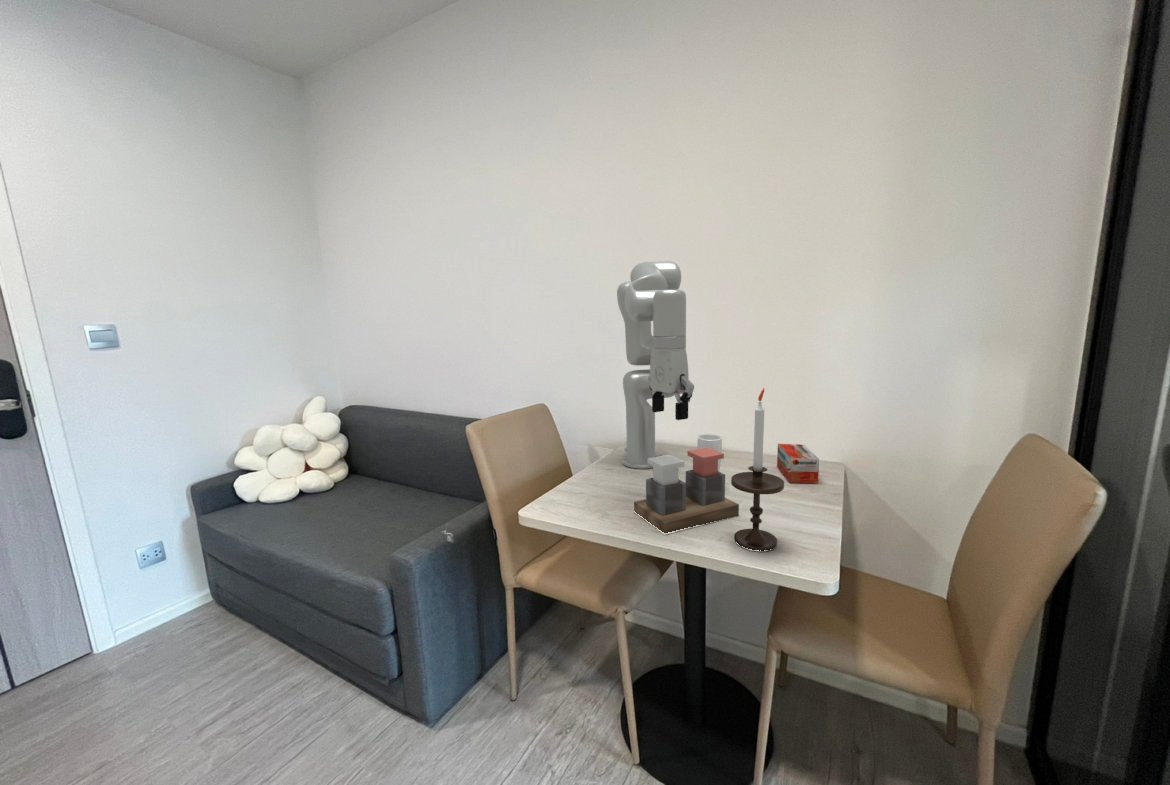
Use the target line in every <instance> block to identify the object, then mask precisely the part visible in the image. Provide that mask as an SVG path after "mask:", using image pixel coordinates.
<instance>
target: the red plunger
mask: <svg viewBox="0 0 1170 785" xmlns="http://www.w3.org/2000/svg"><path fill="white" fill-rule="evenodd" d="M686 454H687V457H690V458H691V459H692V470H693V473H695V474H697V475H699V476H702V477H708V476H713V475H717V474H718V459H721V460H723V459H724V458H725V453H723V452H722V453H721V452H718V451H715V450H713V449H710V448H708V447H707V448H702V449H697V448H696V449H692V450H687V453H686Z"/></svg>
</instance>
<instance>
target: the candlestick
mask: <svg viewBox="0 0 1170 785" xmlns="http://www.w3.org/2000/svg"><path fill="white" fill-rule="evenodd" d="M764 393H765V387H763V388H762V390H761V392H760V393H759V396H758V403H757V407H755V408H754V429H753V430H754V431H753V433H754V435H753V465H752V466H748V467H747V469H748V470H749V471H743V472H738V473H735V474H733V475H732V476H731V477H730V478H731V480H730V483H731V486H732V487H733V488H734V489H736V490H739V491H741V492H744V493H748V494H753V504H752V506H751V507H750V508H749V512H750V514H751V515H752V517H750V519H749V521H750V522H751V523H752V528H743V529H740V530H737V531H736V532H735V533H734V534H733V539H734V540H735V541H734V543H735V542H737V543H738V544H739V545H740V546H743V547H745V548H748V549H752V550H759V551H760V550H761V551H764V550H770V549H773V548H775V547H776V546H778V538H777V537H776V536H775V535H774V534H772V533H771V532H768V531H766V530H763V529H760V524H762V522H763V520H762V519H761V515H762V514H764V509H763V508H762V507H761V504H760V503H761V495H774V494H777V493H782V491H783V490H784V489H785V481H784V480H783V479H782V478H781V477H779V476H778V475H775V474H770V473H768V468H767V467H765V466H763V461H764V460H763V459H764V455H763V454H764V429H765V408H764V407H763V404H762V400H763V397H764ZM766 472H767V473H766ZM740 546H739V547H740ZM776 548H777V547H776ZM776 548H775V549H776ZM773 550H774V549H773Z"/></svg>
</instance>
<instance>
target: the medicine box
mask: <svg viewBox="0 0 1170 785" xmlns="http://www.w3.org/2000/svg"><path fill="white" fill-rule="evenodd" d="M776 454H777V455H776V456H777V457H776V458H777V459H776V467H778V468H777V469H778V470H779V472H780V473H781V474H782V475H783V477H784V478H785V479H786V481H787V482H788V484H802V483H803V484H812V485H813V484H814V485H818V483H819V474H820V473H819V471H820V458H819V457H818V456H817V455H816V454H814V452H812V451H811V450H810V449H809V448H808V447H807V446H806V445H805V444H803V443H777V453H776Z"/></svg>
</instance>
